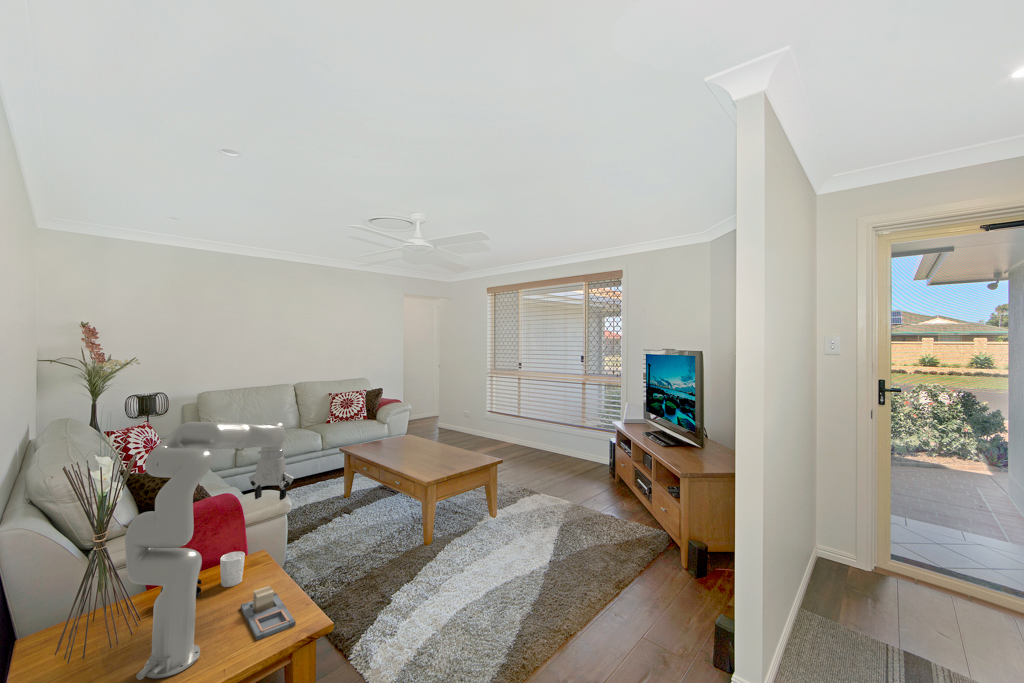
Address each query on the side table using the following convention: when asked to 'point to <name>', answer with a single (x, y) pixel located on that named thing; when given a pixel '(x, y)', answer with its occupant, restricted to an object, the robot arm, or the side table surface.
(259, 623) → the grey slotted tray
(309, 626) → the side table surface
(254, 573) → the side table surface
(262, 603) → the birch block
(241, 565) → the white cup
